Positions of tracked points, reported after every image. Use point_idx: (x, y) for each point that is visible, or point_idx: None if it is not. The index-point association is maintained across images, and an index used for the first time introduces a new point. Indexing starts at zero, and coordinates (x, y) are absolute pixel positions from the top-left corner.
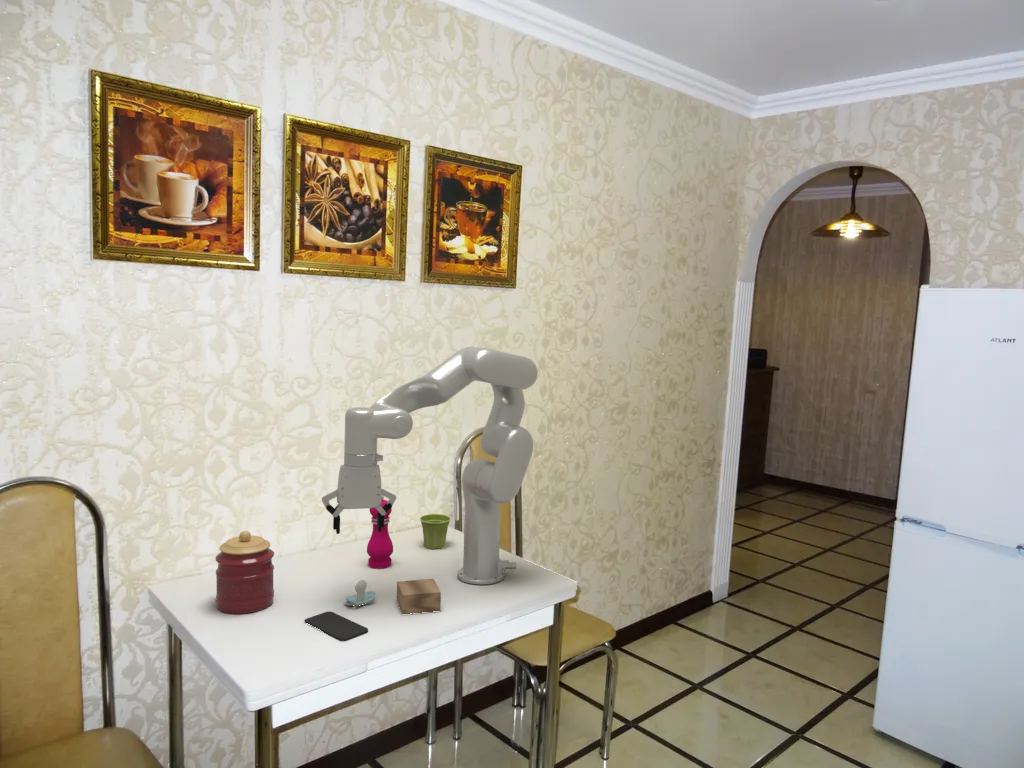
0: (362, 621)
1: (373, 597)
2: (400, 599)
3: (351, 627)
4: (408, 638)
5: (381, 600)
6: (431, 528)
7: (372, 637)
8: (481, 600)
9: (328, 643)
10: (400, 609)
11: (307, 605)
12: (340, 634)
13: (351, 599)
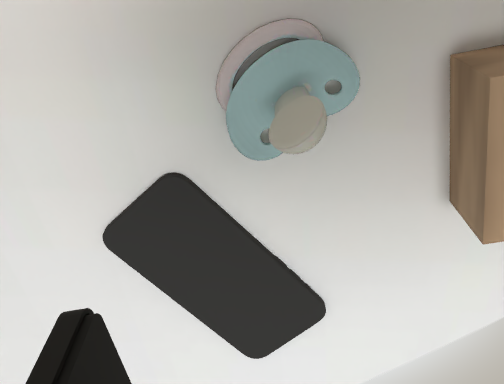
0: (304, 242)
1: (349, 98)
2: (467, 176)
3: (272, 298)
4: (441, 346)
5: (381, 53)
6: None
7: (338, 337)
8: None
9: (216, 361)
10: (451, 163)
11: (64, 97)
12: (244, 335)
13: (249, 97)
